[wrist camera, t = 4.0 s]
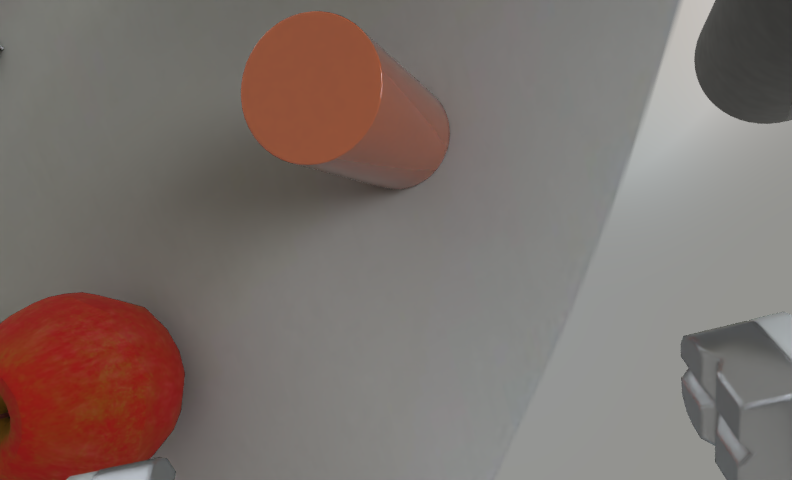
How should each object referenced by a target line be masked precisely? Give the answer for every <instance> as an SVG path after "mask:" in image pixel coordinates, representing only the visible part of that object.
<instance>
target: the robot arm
mask: <svg viewBox="0 0 792 480" xmlns="http://www.w3.org/2000/svg"><path fill="white" fill-rule="evenodd" d="M681 357H682V359H683V360H684V362H685V363H686V364H687V366H688V370H687V372H686V373H685V374H684V375H683V377H682V378H681V381H682V395H683V399H684V403H685V407H686V410H687V413H688V415H689V418H690V420H691V422H692V424H693V426H694V428H695V429H696V431H697V433H698V435H699V436H700V438H701V439H703V440H705V441H707V442H709V443H711V444H713V445H715V462H716V464H717V465H718V467H719V468H720V470H721V471H722V473H723V475H724V476H725V478H726V479H727V480H792V316H791V315H790V314H788V313H785V312H780V313H776V314H772V315H767V316H763V317H759V318H755V319H751V320H749V321H744V322H740V323H736V324H732V325H727V326H724V327H720V328H715V329H711V330H707V331H702V332H699V333H694V334H690V335H686V336H683V339H682V342H681ZM175 474H176V471H175V470H174V468H173V467H172V465H171V464H170V462H169V461H168V459H167V458H161V457H159V458H154V459H149V460H144V461H139V462H134V463H129V464H124V465H119V466H115V467H110V468H105V469H100V470H99V471H94V472H89V473H84V474H79V475H74V476H70V477H69V478H67V479H66V480H174V479H175Z"/></svg>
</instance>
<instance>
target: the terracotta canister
mask: <svg viewBox="0 0 792 480" xmlns="http://www.w3.org/2000/svg"><path fill="white" fill-rule="evenodd" d="M241 103H242V109H243V113H244V117H245V120H246V122H247V125H248V127H249V129H250V131H251V133H252V134H253V136H254V137H255V139H256V140H257V141H258V142H259V144H260V145H261V146H262V147H263V148H264V149H265V150H267V151H268V152H269V153H271V154H272V155H274V156H275V157H277V158H279V159H281V160H283V161H286V162H289V163H292V164H296V165H300V166H304V167H307V168H311V169H315V170H318V171H322V172H326V173H329V174H333V175H337V176H341V177H344V178H348V179H352V180H355V181H359V182H363V183H367V184H370V185H374V186H378V187H381V188H386V189H405V188H409V187H412V186H415V185H417V184H419V183H421V182H423V181H424V180H426V179H427V178H428V177H430V176H431V175H432V174H433V173H434V172H435V171H436V169H437V168H438V167H439V165H440V164H441V162H442V161H443V158H444V156H445V154H446V151H447V148H448V144H449V135H450V131H449V122H448V118H447V115H446V112H445V110H444V108H443V106H442V105H441V103H440V102H439V100H438V99H437V98H436V97H435V96H434V95H433V94H432V93H431V92H430V91H429V90H428V89H427V88H426V87H424V86H423V85H422V84H421V83H420V82H419V81H418V80H417V79H416V78H415V77H413V76H412V75H411V74H410V73H409V72H408V71H407V70H406V69H405V68H404V67H402V66H401V65H400V64H399V63H398V62H397V61H396V60H395V59H394V58H392V57H391V56H390V55H389V54H388V53H387V52H386V51H385V50H384V49H383V48H381V47H380V46H379V45H378V44H377V43H376V42H375V41H374V40H373V39H372V38H370V37H369V36H368V35H367V34H366V33H365V32H364V31H363V30H362V29H360V28H359V27H358V26H357V25H356V24H355V23H353V22H351V21H350V20H348V19H346V18H344V17H342V16H340V15H337V14H333V13H330V12H322V11H311V12H305V13H300V14H297V15H293V16H291V17H289V18H286V19H284V20H282V21H281V22H279V23H278V24H276V25H275V26H273V27H272V28H271V29H270V30H269V31H267V32H266V33H265V35H264V36H263V37H262V38H261V39H260V40H259V42H258V43H257V44H256V46H255V47H254V49H253V51H252V52H251V54H250V56H249V58H248V61H247V63H246V66H245V69H244V72H243V77H242V83H241Z"/></svg>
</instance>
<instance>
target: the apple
mask: <svg viewBox="0 0 792 480" xmlns="http://www.w3.org/2000/svg"><path fill="white" fill-rule="evenodd" d="M184 377H185V372H184V368H183V364H182V360H181V356H180V353H179V350H178V348H177V346H176V344H175V343H174V341H173V339H172V337H171V336H170V334H169V332H168V330H167V329H166V328H165V327H164V326H163V325H162V324H161V323H160V322H159V321H158V320H157V319H156V318H155V317H154V316H153V315H152V314H151V313H150V312H149V311H148V310H147V309H146V308H144V307H141V306H137V305H134V304H130V303H127V302H123V301H119V300H115V299H111V298H107V297H103V296H99V295H95V294H89V293H83V292H81V293H68V294H61V295H57V296H52V297H48V298H45V299H43V300H40V301H38V302H35V303H33V304H31V305H29V306H27V307H26V308H24V309H22V310H20V311H18V312H16V313H15V314H13V315H11V316H9V317H8V318H7V319H6V320H4V321H3V322H2V323H0V480H66V479H67V478H69V477H70V476H74V475H79V474H84V473H89V472H94V471H99V470H100V469H105V468H110V467H115V466H119V465H124V464H129V463H134V462H139V461H144V460H149V459H150V458H151V457H152V456H153V455H154V453H155V452H156V451H157V450H158V448H159V447H160V446H161V445H162V443H163V442H164V441H165V440H166V439H167V437H168V436H169V435H170V434H171V432H172V431H173V430H174V427H175V425H176V422H177V420H178V417H179V415H180V412H181V405H182V396H183V386H184Z"/></svg>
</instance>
